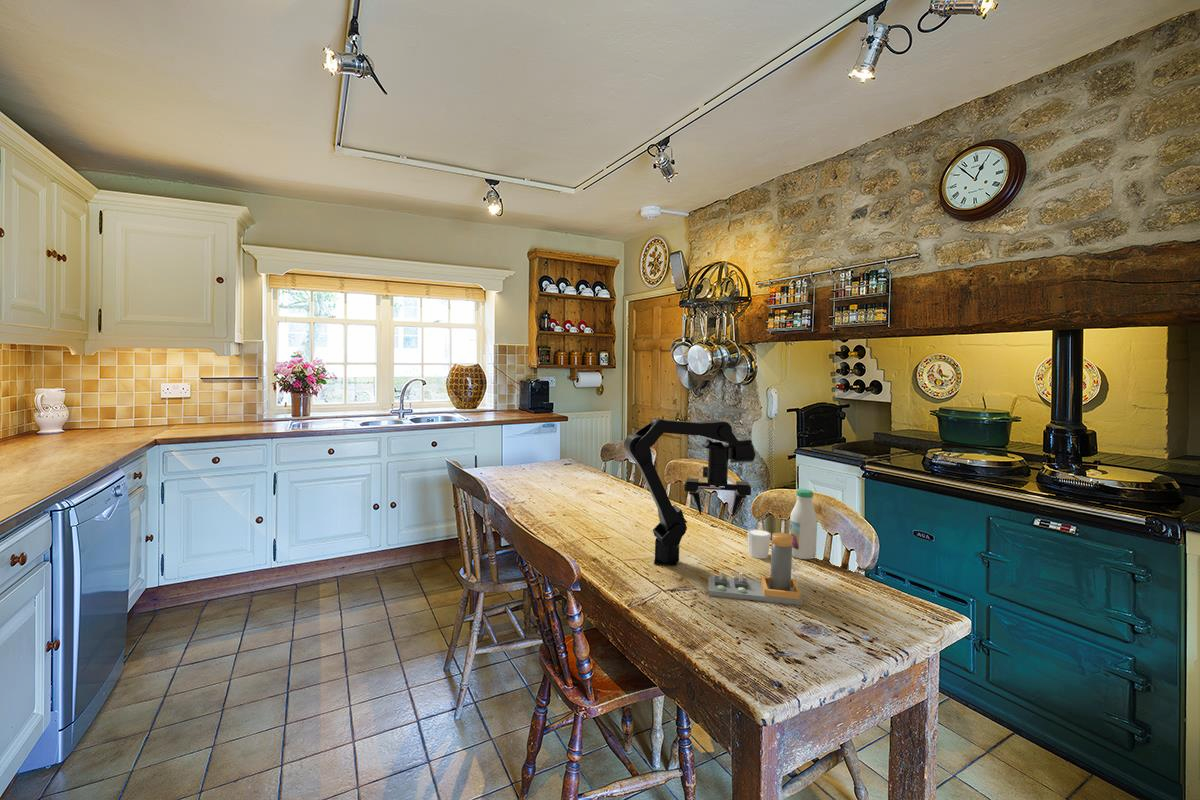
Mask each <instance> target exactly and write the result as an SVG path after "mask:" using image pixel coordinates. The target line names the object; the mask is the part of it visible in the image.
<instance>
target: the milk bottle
mask: <svg viewBox="0 0 1200 800" xmlns="http://www.w3.org/2000/svg"><path fill="white" fill-rule="evenodd" d="M813 496H814V491H812V490H810V489H805V488H803V489H802V488H801V489H800V488H799V489H797V490H796V501H795V504H794V505H793V506H794V507H793V508H792V510H791V511H790V512H791V513H790V518H789V527H788V528H789V529H788V530H789V532H788V534H790V535H792V536H793V541H792V558H796V559H801V560H812V559H815V558H816V554H817V553H816V552H817V539H818V538H817V537H818V536H817V535H818V533H817V532H818V517H817V514H816V511H815V508H814V505H813V499H814V498H813ZM811 557H813V558H811Z"/></svg>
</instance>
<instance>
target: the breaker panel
mask: <svg viewBox="0 0 1200 800" xmlns="http://www.w3.org/2000/svg"><path fill="white" fill-rule="evenodd" d="M718 571H719V572H718V573H719V574H718V575H714V576H708V579H707V581H708V596H709V597H710V596H712V597H720V598H731V599H741V600H750V601H757V602H768V603H777V604H789V605H795V606H797V605H798V606H803V598H802V591H801V589H800V587H799V585H798V583H797V580H795V579H793V578H791V585H790V591H784V590H774V589H770V576H763V575H762V576H761V577H760V580H750V579H747V578H746V577H744V576H743V575H744V573H743V572H739V573H738V577H737V576H736V577H735V576H734V577H733V578H731V577H730V578H729V577H727V576H725V575H724V574H723V570H718Z"/></svg>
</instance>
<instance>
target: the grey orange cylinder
mask: <svg viewBox="0 0 1200 800" xmlns="http://www.w3.org/2000/svg"><path fill="white" fill-rule="evenodd" d="M792 541H793V536H792V535H790V534H789V533H786V532H774V533H771V552H770V553H771V555H770V556H771V557H770V576H769V577H770V589H774V590H784V591H790V585H791V579H792V559H793V556H792Z"/></svg>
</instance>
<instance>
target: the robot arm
mask: <svg viewBox="0 0 1200 800" xmlns="http://www.w3.org/2000/svg"><path fill="white" fill-rule="evenodd" d="M663 434H673V435H686V436H687V435H689V436H700V437H704V438H708V439H706V441H704V442H703V443H702V444H701V447H702V448H705V449H708V453H707V454H708V456H707V457H708V458H707V459H708V460H707V463H708V464H707V466H702V478H703V479H704V478H707V482H703V481H702V482H701V481H699V480H700V479H699V478H685V481H684V491H685V492H688V493H689V494H688V495H692V497H693V498H694V501H695V503H696V506H697V510H698V513H699V515H702V502H701V494H700V493H701V491H700V490H716V491H717V490H719V491H733V492H734V494H733V500H732V508H731V518H733V517H734V516H735V514H736V511H737V510H738V506H739V505H740V503H741V501H742V500H743V499H746V498H747V496H751V495H752V487H751V484H750V483H749V481H742V480H741V481H739V480H737V481H736V482H735V483H728V481H729V480H728V479H729V478H728V477H729V475H728V474H729V460H730V462H732V463H733V464H734V463H752V462H754V461H755V459H756V452H755V448H754V446H753V444H752V439H748V438H745V439H738V438H737V437H736V435H734V433H733V428H732V425H731V424H730V423H729V422H727V421H724V420H719V419H717V418H716V419H715V418H714V419H708V420H707V419H706V420H702V421H689V420H687V421H686V420H675V419H663V418H661V417H660V418H658V417H657V418H653V419H652V420H651V421H649V423H647V424H646V425H644V426H643V427H641V428H639V429H638V430H637V431H636V432H635V433H631V434H629V435H628V436H627V437H625V439H624V441H623V446H624V450H625V451H626V452H627V453H628V455H629V456H630V458H631V459H632V460H633V462H634V463H635V464H636V465H637V467H638V469H639V471H640V473H641V475H642V477H643V480H644V482H645V483H646V486H647V488H648V490H649V493H650V494H651V497H652V499H653V501H654V503H655V505H656V507H657V513H658V514H657V515H658V520H659V523H658V524H656V526H655V527H654V528H653V529H652V532H653V536H654V537H655V541H654V560H653V564H654V565H661V566H662V565H663V566H671V567H677V565H678V563H679V561H680V543H681V541H682V538H683V537H684V535H685V534H686V532H687V530H688V526H687V524H688V521H687V520H686V519H685V516H684V513H683V510H682V509H681V508H680V507H678V506H677V505H676V504H673V505H672V503H671V502H672V501H671V500H670V498H669V496H668V494H667V493H668V492H667V491H666V490H665V487H664V485H663V482H662V481H661V479H660V476H659V474H658V472H657V469H656V467H655V465H654V463H653V454H652V449H651V448H652V446H653V445H655V444H656V443H657V441H658V440H659V439H660V437H661V436H662V435H663ZM712 440H715V441H712ZM723 443H725V444H723Z"/></svg>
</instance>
